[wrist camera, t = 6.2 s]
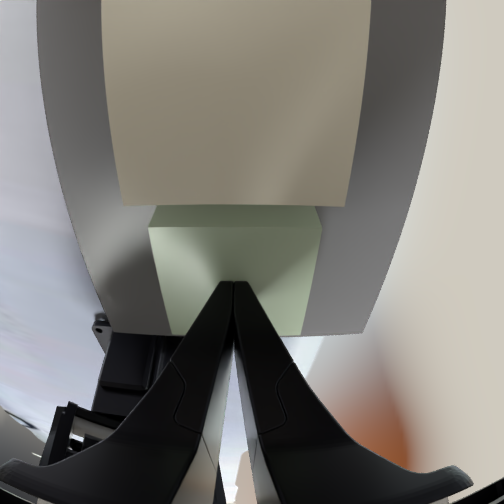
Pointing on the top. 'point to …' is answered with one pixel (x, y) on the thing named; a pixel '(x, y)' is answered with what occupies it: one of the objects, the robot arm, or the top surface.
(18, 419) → the top surface
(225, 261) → the pale green cube
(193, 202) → the cream cube
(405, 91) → the gray rectangular slab
